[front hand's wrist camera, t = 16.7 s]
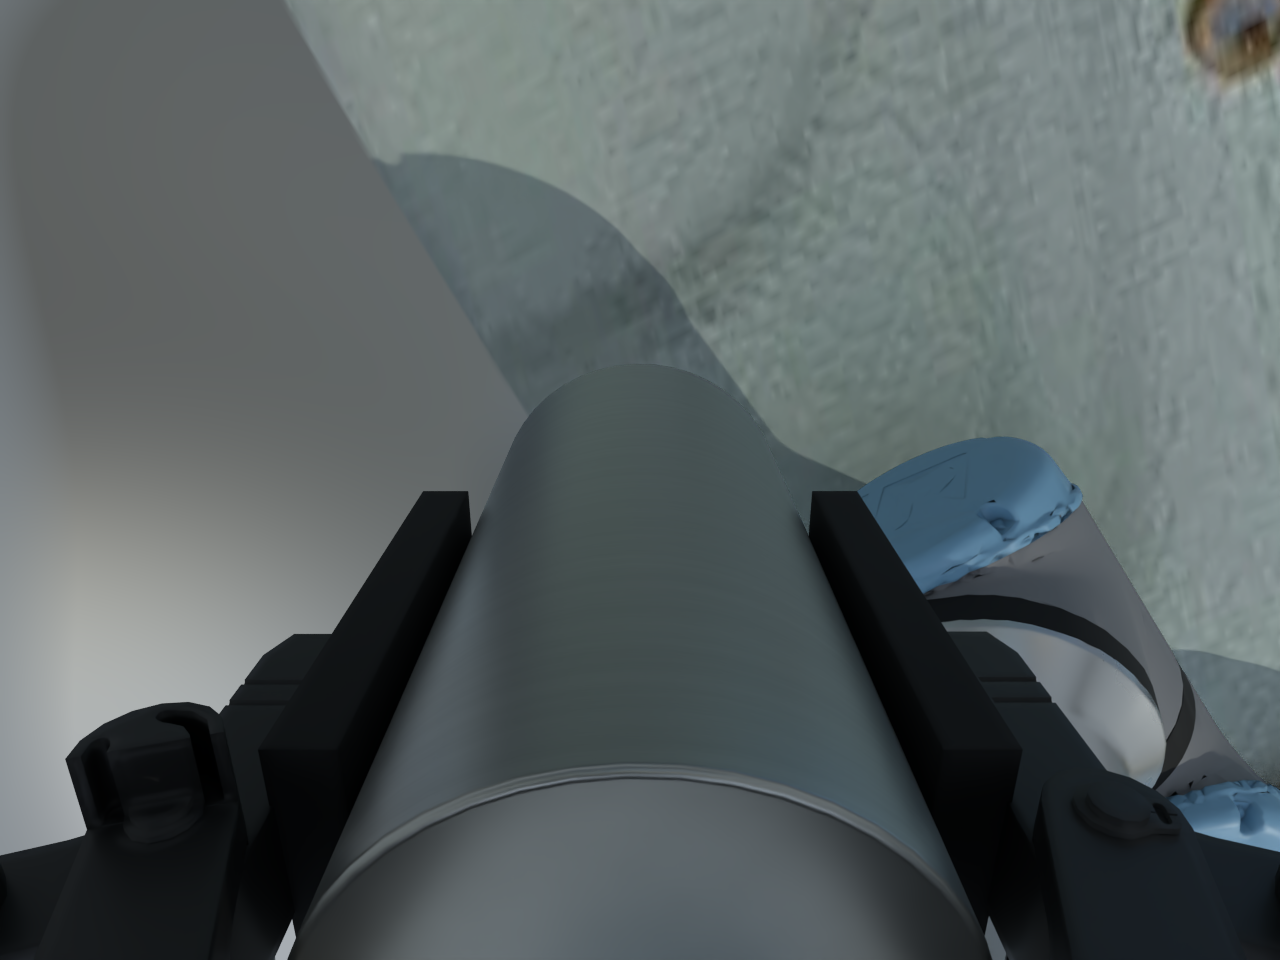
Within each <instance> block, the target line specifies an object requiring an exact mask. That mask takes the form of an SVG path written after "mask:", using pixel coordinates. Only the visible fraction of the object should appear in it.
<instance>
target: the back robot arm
mask: <svg viewBox="0 0 1280 960" xmlns="http://www.w3.org/2000/svg"><path fill="white" fill-rule="evenodd" d="M857 492H858V493H859V495H860V496H861V498H862V499H863V501H864V502H865V504H866V506H867V507H868V509H869V510H870V512H871V513H872V515H873V517H874V518H875V520H876V521H877V523H878V524H879V526H880V527H881V529H882V531H883V532H884V534H885V535H886V537H887V538H888V540H889V542H890V543H891V545H892V546H893V548H894V549H895V551H896V552H897V554H898V556H899V557H900V559H901V560H902V562H903V563H904V565H905V566H906V568H907V570H908V571H909V573H910V574H911V576H912V577H913V579H914V581H915V582H916V584H917V585H918V587H919V588H920V590H921V591H922V593H923V595H924V596H925V598H926V599H927V601H928V602H929V604H930V605H931V607H932V609H933V610H934V612H935V613H936V615H937V616H938V618H939V620H940V621H941V623H942V624H943V626H944V627H945V629H946V630H947V631H987V632H988V633H990V634H991V635H993V636H994V637H996V638H997V639H999V640H1000V641H1002V642H1003V643H1004V644H1006V645H1007V646H1009V647H1010V648H1012V649H1013V650H1015V651H1016V652H1018V653H1019V655H1020V656H1021V657H1022V659H1023V660H1024V661H1025V663H1026V664H1027V665H1028V667H1029V668H1030V669H1031V671H1032V672H1033V673H1034V675H1035V676H1036V681H1037V682H1040V683H1041V684H1042V685H1043V687H1044V688H1045V689H1046V691H1047V692H1048V693H1049V695H1050V696H1051V697H1052V703H1056V704H1057V705H1058V706H1059V708H1060V709H1061V710H1062V712H1063V713H1064V714H1065V716H1066V717H1067V718H1068V720H1069V721H1070V722H1071V724H1072V725H1073V726H1074V728H1075V729H1076V730H1077V732H1078V733H1079V734H1080V736H1081V737H1082V738H1083V740H1084V741H1085V742H1086V744H1087V745H1088V746H1089V747H1090V749H1091V750H1092V751H1093V753H1094V754H1095V755H1096V757H1097V758H1098V759H1099V761H1100V762H1101V763H1102V765H1103V766H1104V767H1105V769H1106V770H1107V771H1110V772H1113V773H1117V774H1120V775H1124V776H1127V777H1131V778H1132V779H1134V780H1136V781H1138V782H1140V783H1142V784H1144V785H1146V786H1148V787H1150V788H1152V789H1154V790H1156V791H1158V792H1159V793H1160V794H1161V795H1163V796H1164V797H1165V798H1166V799H1168V800H1169V801H1170V802H1171V803H1173V804H1174V805H1175V806H1176V807H1178V808H1179V809H1180V810H1181V812H1182V813H1183V815H1184V816H1185V818H1186V819H1187V821H1188V822H1189V824H1190V825H1191V826H1192V828H1193V830H1194V831H1195V832H1198V833H1202V834H1205V835H1209V836H1212V837H1216V838H1220V839H1225V840H1229V841H1234V842H1238V843H1242V844H1247V845H1251V846H1256V847H1260V848H1265V849H1269V850H1274V851H1278V852H1280V790H1279V789H1278V788H1277V787H1274V786H1272V785H1271V784H1270V783H1268V784H1267V783H1266V782H1265V781H1264V780H1263V779H1262V778H1260V777H1259V776H1258V775H1257V774H1256V773H1255V772H1254V771H1253V770H1252V769H1251V768H1250V766H1249V765H1248V764H1247V763H1246V762H1245V761H1244V760H1243V759H1242V758H1241V756H1240V755H1239V754H1238V753H1237V752H1236V750H1235V749H1234V748H1233V747H1232V746H1231V744H1230V743H1229V742H1228V740H1227V739H1226V738H1225V736H1224V735H1223V734H1222V732H1221V731H1220V730H1219V728H1218V727H1217V725H1216V723H1215V722H1214V720H1213V719H1212V717H1211V715H1210V714H1209V712H1208V710H1207V709H1206V707H1205V705H1204V704H1203V702H1202V701H1201V699H1200V697H1199V696H1198V694H1197V692H1196V691H1195V689H1194V687H1193V686H1192V684H1191V682H1190V681H1189V679H1188V678H1187V676H1186V674H1185V673H1184V672H1183V670H1182V668H1181V667H1180V665H1179V664H1178V662H1177V660H1176V658H1175V656H1174V654H1173V652H1172V650H1171V649H1170V647H1169V645H1168V644H1167V642H1166V640H1165V639H1164V637H1163V635H1162V634H1161V632H1160V630H1159V629H1158V627H1157V625H1156V624H1155V622H1154V620H1153V619H1152V617H1151V615H1150V614H1149V612H1148V610H1147V608H1146V607H1145V605H1144V603H1143V602H1142V600H1141V598H1140V597H1139V595H1138V593H1137V592H1136V590H1135V588H1134V587H1133V585H1132V583H1131V582H1130V580H1129V578H1128V577H1127V575H1126V573H1125V572H1124V570H1123V568H1122V567H1121V565H1120V563H1119V562H1118V560H1117V558H1116V557H1115V555H1114V553H1113V552H1112V550H1111V548H1110V547H1109V545H1108V543H1107V542H1106V540H1105V538H1104V537H1103V535H1102V533H1101V532H1100V530H1099V528H1098V527H1097V525H1096V523H1095V521H1094V520H1093V518H1092V516H1091V515H1090V513H1089V511H1088V510H1087V508H1086V506H1085V505H1084V503H1083V501H1082V497H1083V495H1082V493H1081V490H1080V489H1079V487H1078V486H1077V485H1075V484H1072V483H1070V482H1069V480H1068V479H1067V478H1066V476H1065V475H1064V474H1063V472H1062V471H1061V470H1060V468H1059V467H1058V466H1057V464H1056V463H1055V462H1054V460H1053V459H1052V457H1051V456H1050V455H1049V454H1048V453H1047V452H1045V451H1044V450H1043V449H1042V448H1040V447H1039V446H1037V445H1035V444H1033V443H1031V442H1029V441H1026V440H1022V439H1018V438H1012V437H993V438H976V439H970V440H965V441H961V442H957V443H953V444H950V445H946V446H943V447H940V448H938V449H935V450H932V451H929V452H927V453H924V454H922V455H920V456H917V457H915V458H913V459H911V460H909V461H907V462H905V463H903V464H900V465H898V466H897V467H895V468H893V469H891V470H889V471H888V472H886V473H884V474H882V475H881V476H879V477H877V478H876V479H874V480H873V481H871V482H869V483H868V484H866V485H865V486H864V487H862V488H861V489H859V490H858V491H857ZM985 938H986V940H987V944H988V947H989V950H990V953H991V956H992V960H1005V956H1006V952H1005V950H1004V947H1003V945H1002V943H1001V941H1000V939H999V937H998V934H997V932H996V930H995V928H994V926H993V923H992V921H991V919H990V917H989V918H988V923H987V927H986V932H985Z"/></svg>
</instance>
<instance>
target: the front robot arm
mask: <svg viewBox="0 0 1280 960" xmlns="http://www.w3.org/2000/svg"><path fill="white" fill-rule="evenodd" d="M471 537H472V533H471V521H470V508H469V496H468V491H423V492H422V494H421V496H420V497H419V499H418V500H417V502H416V503H415V505H414V506H413V508H412V510H411V511H410V513H409V514H408V516H407V517H406V519H405V521H404V522H403V524H402V525H401V527H400V528H399V530H398V532H397V533H396V535H395V536H394V538H393V539H392V541H391V542H390V544H389V546H388V547H387V549H386V550H385V552H384V553H383V555H382V556H381V558H380V560H379V561H378V563H377V564H376V566H375V567H374V569H373V570H372V572H371V574H370V575H369V577H368V578H367V580H366V582H365V583H364V585H363V586H362V588H361V589H360V591H359V592H358V594H357V596H356V597H355V599H354V600H353V602H352V603H351V605H350V606H349V608H348V610H347V611H346V613H345V614H344V616H343V617H342V619H341V620H340V622H339V624H338V625H337V627H336V628H335V630H334V631H333V633H332V634H294V635H292V636H291V637H289V638H288V639H286V640H285V641H283V642H282V643H280V644H279V645H278V646H276V647H275V648H273V649H272V650H270V651H269V652H267V653H266V654H264V655H263V656H262V658H261V659H260V660H259V662H258V663H257V664H256V666H255V667H254V668H253V670H252V671H251V672H250V674H249V675H248V676H247V678H246V679H245V684H244V685H241V686H240V687H239V688H238V690H237V691H236V692H235V694H234V695H233V696H232V698H231V699H230V703H229V705H228V706H227V705H226V706H225V707H224V708H223V710H222V711H221V712H220V714H218V713H217V712H216V711H214V710H213V709H212V708H211V707H209V706H205V705H200V704H195V703H191V702H181V703H164V704H158V705H155V706H151V707H147V708H143V709H139V710H135V711H132V712H129V713H127V714H125V715H123V716H120V717H118V718H116V719H114V720H111V721H109V722H107V723H105V724H103V725H102V726H100V727H99V728H97V729H96V730H95V731H93V732H92V733H90V734H89V735H87V736H86V737H85V738H83V739H82V740H80V741H79V743H78V744H77V745H76V746H75V748H74V749H73V750H72V751H71V753H70V754H69V755H68V756H67V758H66V759H65V760H66V763H67V766H68V769H69V773H70V776H71V779H72V782H73V785H74V789H75V792H76V795H77V799H78V802H79V805H80V808H81V812H82V815H83V818H84V821H85V824H86V828H87V831H86V834H85V835H84V836H81V837H77V838H74V839H71V840H67V841H63V842H58V843H54V844H49V845H45V846H41V847H36V848H32V849H27V850H23V851H19V852H14V853H10V854H5V855H1V856H0V960H275V955H276V953H277V951H278V949H279V946H280V944H281V942H282V940H283V938H284V935H285V933H286V931H287V929H288V927H289V924H290V922H291V920H293V925H294V930H295V935H296V937H297V935H298V932H299V930H300V927H301V925H302V923H303V920H304V918H305V916H306V914H307V911H308V909H309V907H310V905H311V902H312V900H313V898H314V895H315V893H316V891H317V889H318V886H319V884H320V882H321V879H322V877H323V875H324V873H325V870H326V868H327V866H328V863H329V861H330V859H331V857H332V854H333V852H334V850H335V847H336V845H337V843H338V841H339V838H340V836H341V834H342V832H343V829H344V827H345V825H346V822H347V820H348V818H349V816H350V813H351V811H352V809H353V806H354V804H355V802H356V800H357V797H358V795H359V793H360V790H361V788H362V786H363V784H364V781H365V779H366V777H367V774H368V772H369V770H370V768H371V765H372V763H373V761H374V759H375V756H376V754H377V752H378V749H379V747H380V745H381V743H382V740H383V738H384V736H385V733H386V731H387V729H388V727H389V724H390V722H391V720H392V717H393V715H394V713H395V711H396V708H397V706H398V704H399V701H400V699H401V697H402V695H403V692H404V690H405V688H406V686H407V683H408V681H409V679H410V676H411V674H412V672H413V670H414V667H415V665H416V663H417V660H418V658H419V656H420V654H421V651H422V649H423V647H424V644H425V642H426V640H427V638H428V635H429V633H430V631H431V628H432V626H433V624H434V622H435V619H436V617H437V615H438V613H439V610H440V608H441V606H442V603H443V601H444V599H445V597H446V594H447V592H448V590H449V587H450V585H451V583H452V581H453V578H454V576H455V574H456V571H457V569H458V567H459V565H460V562H461V560H462V558H463V556H464V553H465V551H466V549H467V546H468V544H469V542H470V540H471ZM809 538H810V541H811V543H812V545H813V547H814V550H815V552H816V554H817V557H818V559H819V561H820V563H821V566H822V568H823V570H824V572H825V575H826V577H827V579H828V582H829V584H830V586H831V588H832V591H833V593H834V595H835V597H836V600H837V602H838V604H839V607H840V609H841V611H842V613H843V616H844V618H845V620H846V622H847V625H848V627H849V629H850V632H851V634H852V636H853V638H854V641H855V643H856V645H857V647H858V650H859V652H860V654H861V657H862V659H863V661H864V663H865V666H866V668H867V670H868V672H869V675H870V677H871V679H872V682H873V684H874V686H875V688H876V691H877V693H878V695H879V697H880V700H881V702H882V704H883V706H884V709H885V711H886V713H887V716H888V718H889V720H890V722H891V725H892V727H893V729H894V731H895V734H896V736H897V738H898V741H899V743H900V745H901V747H902V750H903V752H904V754H905V756H906V759H907V761H908V763H909V766H910V768H911V770H912V772H913V775H914V777H915V779H916V781H917V784H918V786H919V788H920V791H921V793H922V795H923V797H924V800H925V802H926V804H927V806H928V809H929V811H930V813H931V816H932V818H933V820H934V822H935V825H936V827H937V829H938V831H939V834H940V836H941V838H942V840H943V843H944V845H945V847H946V850H947V852H948V854H949V856H950V859H951V861H952V863H953V865H954V868H955V870H956V872H957V875H958V877H959V879H960V881H961V884H962V886H963V888H964V890H965V893H966V895H967V897H968V900H969V902H970V904H971V906H972V909H973V911H974V913H975V915H976V918H977V920H978V922H979V925H980V927H981V929H982V931H983V934H984V936H985V932H986V927H987V923H988V918H989V917H990V919H991V921H992V923H993V926H994V928H995V930H996V932H997V934H998V937H999V939H1000V941H1001V943H1002V945H1003V947H1004V950H1005V952H1006V956H1005V960H1280V852H1278V851H1274V850H1269V849H1265V848H1260V847H1256V846H1251V845H1247V844H1242V843H1238V842H1234V841H1229V840H1225V839H1220V838H1216V837H1212V836H1209V835H1205V834H1202V833H1198V832H1195V831H1194V830H1193V828H1192V826H1191V825H1190V824H1189V822H1188V821H1187V819H1186V818H1185V816H1184V815H1183V813H1182V812H1181V810H1180V809H1179V808H1178V807H1176V806H1175V805H1174V804H1173V803H1171V802H1170V801H1169V800H1168V799H1166V798H1165V797H1164V796H1163V795H1161V794H1160V793H1159V792H1158V791H1156V790H1154V789H1152V788H1150V787H1148V786H1146V785H1144V784H1142V783H1140V782H1138V781H1136V780H1134V779H1132V778H1131V777H1127V776H1124V775H1120V774H1117V773H1113V772H1110V771H1107V770H1106V769H1105V767H1104V766H1103V765H1102V763H1101V762H1100V761H1099V759H1098V758H1097V757H1096V755H1095V754H1094V753H1093V751H1092V750H1091V749H1090V747H1089V746H1088V745H1087V744H1086V742H1085V741H1084V740H1083V738H1082V737H1081V736H1080V734H1079V733H1078V732H1077V730H1076V729H1075V728H1074V726H1073V725H1072V724H1071V722H1070V721H1069V720H1068V718H1067V717H1066V716H1065V714H1064V713H1063V712H1062V710H1061V709H1060V708H1059V706H1058V705H1057V704H1056V703H1052V697H1051V696H1050V695H1049V693H1048V692H1047V691H1046V689H1045V688H1044V687H1043V685H1042V684H1041V683H1040V682H1037V681H1036V676H1035V675H1034V673H1033V672H1032V671H1031V669H1030V668H1029V667H1028V665H1027V664H1026V663H1025V661H1024V660H1023V659H1022V657H1021V656H1020V655H1019V653H1018V652H1016V651H1015V650H1013V649H1012V648H1010V647H1009V646H1007V645H1006V644H1004V643H1003V642H1002V641H1000V640H999V639H997V638H996V637H994V636H993V635H991V634H990V633H988V632H987V631H947V630H946V629H945V627H944V626H943V624H942V623H941V621H940V620H939V618H938V616H937V615H936V613H935V612H934V610H933V609H932V607H931V605H930V604H929V602H928V601H927V599H926V598H925V596H924V595H923V593H922V591H921V590H920V588H919V587H918V585H917V584H916V582H915V581H914V579H913V577H912V576H911V574H910V573H909V571H908V570H907V568H906V566H905V565H904V563H903V562H902V560H901V559H900V557H899V556H898V554H897V552H896V551H895V549H894V548H893V546H892V545H891V543H890V542H889V540H888V538H887V537H886V535H885V534H884V532H883V531H882V529H881V527H880V526H879V524H878V523H877V521H876V520H875V518H874V517H873V515H872V513H871V512H870V510H869V509H868V507H867V506H866V504H865V502H864V501H863V499H862V498H861V496H860V495H859V493H858V492H857V491H812V502H811V515H810V527H809Z"/></svg>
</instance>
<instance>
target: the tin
mask: <svg viewBox="0 0 1280 960" xmlns="http://www.w3.org/2000/svg"><path fill="white" fill-rule="evenodd" d="M288 960H992V956H991V953H990V950H989V947H988V944H987V940H986V938H985V936H984V934H983V931H982V929H981V927H980V925H979V922H978V920H977V918H976V915H975V913H974V911H973V909H972V906H971V904H970V902H969V900H968V897H967V895H966V893H965V890H964V888H963V886H962V884H961V881H960V879H959V877H958V875H957V872H956V870H955V868H954V865H953V863H952V861H951V859H950V856H949V854H948V852H947V850H946V847H945V845H944V843H943V840H942V838H941V836H940V834H939V831H938V829H937V827H936V825H935V822H934V820H933V818H932V816H931V813H930V811H929V809H928V806H927V804H926V802H925V800H924V797H923V795H922V793H921V791H920V788H919V786H918V784H917V781H916V779H915V777H914V775H913V772H912V770H911V768H910V766H909V763H908V761H907V759H906V756H905V754H904V752H903V750H902V747H901V745H900V743H899V741H898V738H897V736H896V734H895V731H894V729H893V727H892V725H891V722H890V720H889V718H888V716H887V713H886V711H885V709H884V706H883V704H882V702H881V700H880V697H879V695H878V693H877V691H876V688H875V686H874V684H873V682H872V679H871V677H870V675H869V672H868V670H867V668H866V666H865V663H864V661H863V659H862V657H861V654H860V652H859V650H858V647H857V645H856V643H855V641H854V638H853V636H852V634H851V632H850V629H849V627H848V625H847V622H846V620H845V618H844V616H843V613H842V611H841V609H840V607H839V604H838V602H837V600H836V597H835V595H834V593H833V591H832V588H831V586H830V584H829V582H828V579H827V577H826V575H825V572H824V570H823V568H822V566H821V563H820V561H819V559H818V557H817V554H816V552H815V550H814V547H813V545H812V543H811V541H810V538H809V536H808V534H807V532H806V529H805V527H804V525H803V523H802V520H801V518H800V516H799V513H798V511H797V509H796V507H795V504H794V502H793V500H792V498H791V495H790V493H789V491H788V488H787V486H786V484H785V482H784V479H783V477H782V475H781V473H780V470H779V468H778V466H777V463H776V461H775V459H774V457H773V454H772V452H771V450H770V448H769V445H768V443H767V441H766V439H765V437H764V435H763V433H762V431H761V430H760V428H759V427H758V425H757V424H756V422H755V421H754V419H753V418H752V417H751V415H750V414H749V413H748V412H747V411H746V410H745V409H744V408H743V407H742V405H741V404H740V403H739V402H738V401H736V400H735V399H734V398H733V397H732V396H730V395H729V394H728V393H727V392H725V391H724V390H723V389H721V388H719V387H718V386H716V385H715V384H713V383H711V382H710V381H708V380H706V379H704V378H701V377H699V376H697V375H695V374H692V373H689V372H686V371H683V370H679V369H676V368H672V367H666V366H660V365H652V364H630V365H620V366H613V367H609V368H605V369H600V370H597V371H594V372H591V373H589V374H586V375H583V376H581V377H578V378H577V379H575V380H573V381H571V382H569V383H567V384H565V385H563V386H562V387H561V388H559V389H558V390H556V391H555V392H554V393H552V394H551V395H549V396H548V397H547V398H546V399H545V400H544V401H543V402H542V403H541V404H540V405H539V406H538V407H536V408H535V410H534V411H533V412H532V413H531V415H530V416H529V417H528V418H527V420H526V421H525V422H524V424H523V425H522V427H521V429H520V430H519V432H518V434H517V435H516V437H515V439H514V441H513V444H512V446H511V448H510V451H509V453H508V455H507V457H506V460H505V462H504V464H503V467H502V469H501V471H500V473H499V476H498V478H497V480H496V483H495V485H494V487H493V489H492V492H491V494H490V496H489V498H488V501H487V503H486V505H485V508H484V510H483V512H482V514H481V517H480V519H479V521H478V524H477V526H476V528H475V530H474V533H473V535H472V537H471V540H470V542H469V544H468V546H467V549H466V551H465V553H464V556H463V558H462V560H461V562H460V565H459V567H458V569H457V571H456V574H455V576H454V578H453V581H452V583H451V585H450V587H449V590H448V592H447V594H446V597H445V599H444V601H443V603H442V606H441V608H440V610H439V613H438V615H437V617H436V619H435V622H434V624H433V626H432V628H431V631H430V633H429V635H428V638H427V640H426V642H425V644H424V647H423V649H422V651H421V654H420V656H419V658H418V660H417V663H416V665H415V667H414V670H413V672H412V674H411V676H410V679H409V681H408V683H407V686H406V688H405V690H404V692H403V695H402V697H401V699H400V701H399V704H398V706H397V708H396V711H395V713H394V715H393V717H392V720H391V722H390V724H389V727H388V729H387V731H386V733H385V736H384V738H383V740H382V743H381V745H380V747H379V749H378V752H377V754H376V756H375V759H374V761H373V763H372V765H371V768H370V770H369V772H368V774H367V777H366V779H365V781H364V784H363V786H362V788H361V790H360V793H359V795H358V797H357V800H356V802H355V804H354V806H353V809H352V811H351V813H350V816H349V818H348V820H347V822H346V825H345V827H344V829H343V832H342V834H341V836H340V838H339V841H338V843H337V845H336V847H335V850H334V852H333V854H332V857H331V859H330V861H329V863H328V866H327V868H326V870H325V873H324V875H323V877H322V879H321V882H320V884H319V886H318V889H317V891H316V893H315V895H314V898H313V900H312V902H311V905H310V907H309V909H308V911H307V914H306V916H305V918H304V920H303V923H302V925H301V927H300V930H299V932H298V935H297V937H296V940H295V942H294V945H293V947H292V949H291V952H290V954H289V957H288Z"/></svg>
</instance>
